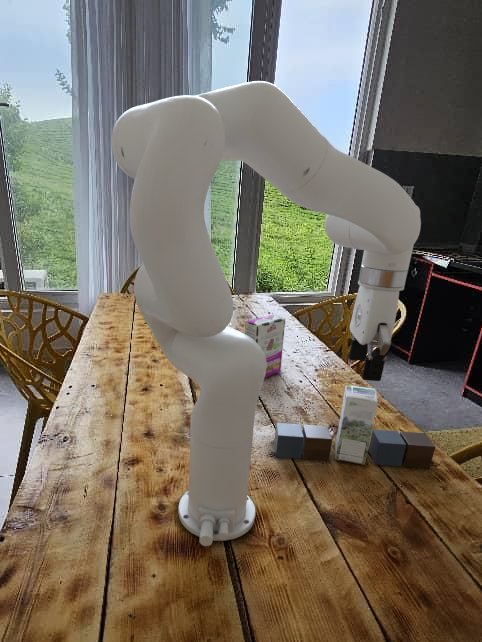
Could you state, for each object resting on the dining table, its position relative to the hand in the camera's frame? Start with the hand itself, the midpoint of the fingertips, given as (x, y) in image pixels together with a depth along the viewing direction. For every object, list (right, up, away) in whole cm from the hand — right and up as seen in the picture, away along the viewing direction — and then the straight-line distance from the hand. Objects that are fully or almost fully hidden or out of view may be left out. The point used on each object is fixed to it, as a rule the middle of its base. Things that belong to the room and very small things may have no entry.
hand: (363, 369), depth 83 cm
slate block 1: (-13, -17, +8) cm, 23 cm away
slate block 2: (+7, -18, +7) cm, 21 cm away
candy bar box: (-13, -3, +44) cm, 46 cm away
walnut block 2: (+12, -19, +7) cm, 23 cm away
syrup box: (0, -18, +7) cm, 19 cm away
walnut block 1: (-7, -17, +8) cm, 20 cm away
